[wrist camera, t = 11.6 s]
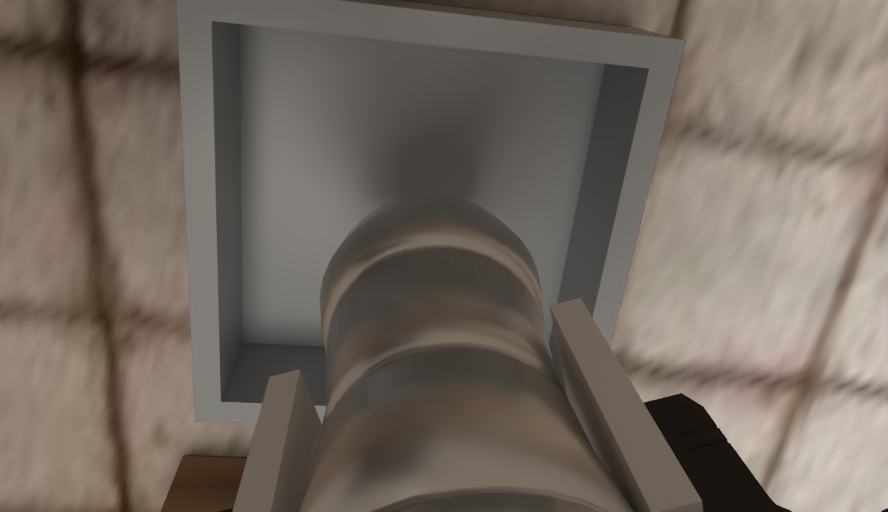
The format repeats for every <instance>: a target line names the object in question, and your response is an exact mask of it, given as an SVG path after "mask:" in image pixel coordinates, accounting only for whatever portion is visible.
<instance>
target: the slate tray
mask: <svg viewBox="0 0 888 512" xmlns="http://www.w3.org/2000/svg"><path fill="white" fill-rule="evenodd" d="M177 23H178V46H179V68H180V91H181V114H182V137H183V160H184V183H185V206H186V229H187V252H188V275H189V298H190V321H191V343H192V366H193V389H194V412H195V422H213V423H241V424H257V420H258V417H259V413H260V410H261V406H262V402H263V399H264V395H265V391H266V388H267V384H268V381H269V377H271V376H275V375H279V374H283V373H287V372H291V371H294V370H298V369H300V371H301V373H302V376H303V378H304V381H305V383H306V386H307V388H308V391H309V393H310V396H311V398H312V401H313V403H314V406H315V408H316V411H317V413H318V416H319V418H320V421H321V424H323V418H324V414H325V410H326V377H327V354H326V351H325V347H324V343H323V339H322V328H321V312H320V291H321V285H322V280H323V276H324V274H325V271H326V269H327V267H328V264H329V262H330V259H331V258H332V257H333V255H334V254H335V252H336V251H337V249H338V248H339V246H340V245H341V244H342V242H343V241H344V239H345V238H346V236H347V235H348V234H349V232H350V231H351V230H352V229H353V228H354V227H355V226H356V225H357V224H358V223H359V222H360V221H361V220H362V219H363V218H364V217H366V216H367V215H369V214H370V213H372V212H374V211H375V210H377V209H378V208H380V207H382V206H384V205H387V204H389V203H392V202H394V201H397V200H399V199H403V198H408V197H413V196H419V195H444V196H450V197H456V198H461V199H464V200H466V201H469V202H472V203H474V204H477V205H479V206H481V207H482V208H484V209H486V210H487V211H489V212H491V213H492V214H494V215H495V216H496V217H497V218H498V219H500V220H501V221H502V222H503V223H504V224H505V225H506V226H507V227H508V228H509V229H511V230H512V231H513V232H514V233H515V234H516V235H517V236H518V237H519V238H520V239H521V240H522V242H523V243H524V245H525V246H526V248H527V249H528V251H529V252H530V254H531V255H532V258H533V260H534V263H535V265H536V268H537V271H538V274H539V280H540V285H541V291H542V297H543V304H544V312H545V325H544V328H545V332H546V336H547V340H548V344H549V347H550V351H551V355H552V359H553V363H554V367H555V371H556V375H557V378H558V380H559V382H560V384H561V385H562V387H563V389H564V392H565V394H566V397H567V392H566V386H565V381H564V376H563V371H562V366H561V361H560V356H559V351H558V346H557V341H556V336H555V331H554V326H553V321H552V316H551V311H550V305H554V304H558V303H562V302H566V301H570V300H574V299H578V298H581V300H582V301H583V303H584V305H585V306H586V308H587V310H588V311H589V313H590V315H591V316H592V318H593V320H594V321H595V323H596V325H597V326H598V328H599V330H600V331H601V333H602V335H603V336H604V338H605V340H606V341H607V343H608V345H609V346H610V347H611V343H612V339H613V335H614V330H615V326H616V322H617V318H618V314H619V310H620V306H621V302H622V298H623V294H624V290H625V286H626V281H627V277H628V273H629V269H630V265H631V261H632V257H633V253H634V249H635V245H636V241H637V236H638V232H639V228H640V224H641V220H642V216H643V212H644V208H645V204H646V200H647V196H648V191H649V187H650V183H651V179H652V175H653V171H654V167H655V163H656V159H657V155H658V151H659V147H660V142H661V138H662V134H663V130H664V126H665V122H666V118H667V114H668V110H669V106H670V102H671V97H672V93H673V89H674V85H675V81H676V77H677V73H678V69H679V65H680V61H681V57H682V53H683V48H684V44H685V40H682V39H678V38H674V37H670V36H666V35H662V34H658V33H654V32H650V31H646V30H642V29H638V28H634V27H627V26H618V25H609V24H601V23H592V22H584V21H575V20H566V19H558V18H549V17H541V16H532V15H523V14H515V13H506V12H498V11H489V10H480V9H472V8H463V7H455V6H446V5H437V4H429V3H420V2H412V1H403V0H177ZM567 399H568V397H567ZM568 401H569V399H568ZM569 403H570V401H569Z"/></svg>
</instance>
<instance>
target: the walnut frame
mask: <svg viewBox="0 0 888 512" xmlns="http://www.w3.org/2000/svg"><path fill="white" fill-rule="evenodd" d="M246 460H247V458H241V457H206V456H183V457H182V460H181V462H180V465H179V467H178V470H177V472H176V475H175V477H174V480H173V482H172V485H171V487H170V490H169V492H168V495H167V497H166V500H165V502H164V505H163V507H162V510H161V512H217V511H221V510H225V509H229V508H233V507H234V504H235V500H236V497H237V493H238V490H239V486H240V482H241V479H242V475H243V471H244V468H245V464H246Z"/></svg>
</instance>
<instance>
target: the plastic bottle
mask: <svg viewBox="0 0 888 512" xmlns="http://www.w3.org/2000/svg"><path fill="white" fill-rule="evenodd" d="M320 312H321V328H322V339H323V343H324V347H325V351H326V354H327V377H326V410H325V414H324V418H323V424H322V429H321V433H320V436H319V440H318V445H317V449H316V453H315V458H314V462H313V467H312V471H311V475H310V480H309V484H308V488H307V491H306V493H305V496H304V499H303V502H302V504H301V507H300V510H299V512H635V511H634V510H633V508H632V507H631V505H630V504H629V502H628V501H627V499H626V498H625V496H624V495H623V493H622V492H621V490H620V489H619V487H618V486H617V484H616V483H615V481H614V480H613V478H612V477H611V475H610V474H609V472H608V471H607V469H606V468H605V466H604V465H603V463H602V462H601V460H600V459H599V457H598V456H597V454H596V453H595V451H594V450H593V447H592V445H591V443H590V441H589V439H588V437H587V435H586V433H585V431H584V429H583V427H582V425H581V423H580V421H579V419H578V417H577V415H576V413H575V411H574V409H573V407H572V405H571V404H570V403H569V401H568V399H567V397H566V394H565V392H564V389H563V387H562V385H561V384H560V382H559V380H558V378H557V375H556V371H555V367H554V363H553V359H552V355H551V351H550V347H549V344H548V340H547V336H546V332H545V328H544V325H545V312H544V304H543V297H542V291H541V285H540V280H539V274H538V271H537V268H536V265H535V263H534V260H533V258H532V255H531V254H530V252H529V251H528V249H527V248H526V246H525V245H524V243H523V242H522V240H521V239H520V238H519V237H518V236H517V235H516V234H515V233H514V232H513V231H512V230H511V229H509V228H508V227H507V226H506V225H505V224H504V223H503V222H502V221H501V220H500V219H498V218H497V217H496V216H495V215H494V214H492V213H491V212H489V211H487V210H486V209H484V208H482V207H481V206H479V205H477V204H474V203H472V202H469V201H466V200H464V199H461V198H456V197H450V196H444V195H419V196H413V197H408V198H403V199H399V200H397V201H394V202H392V203H389V204H387V205H384V206H382V207H380V208H378V209H377V210H375V211H374V212H372V213H370V214H369V215H367V216H366V217H364V218H363V219H362V220H361V221H360V222H359V223H358V224H357V225H356V226H355V227H354V228H353V229H352V230H351V231H350V232H349V234H348V235H347V236H346V238H345V239H344V241H343V242H342V244H341V245H340V246H339V248H338V249H337V251H336V252H335V254H334V255H333V257H332V258H331V259H330V262H329V264H328V267H327V269H326V271H325V274H324V276H323V280H322V285H321V291H320Z"/></svg>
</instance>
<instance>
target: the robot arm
mask: <svg viewBox="0 0 888 512" xmlns="http://www.w3.org/2000/svg"><path fill="white" fill-rule="evenodd" d="M550 311H551V316H552V321H553V326H554V331H555V336H556V341H557V346H558V351H559V356H560V361H561V366H562V371H563V376H564V381H565V386H566V392H567V397H568V399H569V401H570V404H571V405H572V407H573V409H574V411H575V413H576V415H577V417H578V419H579V421H580V423H581V425H582V427H583V429H584V431H585V433H586V435H587V437H588V439H589V441H590V443H591V445H592V447H593V450H594V451H595V453H596V454H597V456H598V457H599V459H600V460H601V462H602V463H603V465H604V466H605V468H606V469H607V471H608V472H609V474H610V475H611V477H612V478H613V480H614V481H615V483H616V484H617V486H618V487H619V489H620V490H621V492H622V493H623V495H624V496H625V498H626V499H627V501H628V502H629V504H630V505H631V507H632V508H633V510H634V511H635V512H792V511H790V510H788V509H785V508H783V507H781V506H778V505H776V504H775V503H774V502H773V501H772V500H771V499H770V498H769V496H768V495H767V493H766V492H765V491H764V489H763V488H762V487H761V485H760V484H759V483H758V481H757V480H756V478H755V477H754V476H753V474H752V473H751V472H750V470H749V469H748V467H747V466H746V465H745V463H744V462H743V461H742V459H741V458H740V457H739V455H738V454H737V452H736V451H735V450H734V448H733V447H732V446H731V444H730V443H728V441H727V439H726V437H725V436H724V435H723V433H722V432H721V430H720V429H719V428H717V426H716V424H715V422H714V421H713V420H712V418H711V417H710V415H709V414H708V413H707V411H706V410H705V409H704V407H703V406H701V405H700V404H698V403H696V402H695V401H693V400H691V399H690V398H688V397H687V396H685V395H683V394H682V393H681V394H677V395H673V396H669V397H665V398H661V399H657V400H653V401H649V402H645V403H643V401H642V400H641V398H640V396H639V395H638V393H637V391H636V390H635V388H634V386H633V385H632V383H631V381H630V380H629V378H628V376H627V375H626V373H625V371H624V370H623V368H622V366H621V365H620V363H619V361H618V360H617V358H616V356H615V355H614V353H613V351H612V350H611V348H610V346H609V345H608V343H607V341H606V340H605V338H604V336H603V335H602V333H601V331H600V330H599V328H598V326H597V325H596V323H595V321H594V320H593V318H592V316H591V315H590V313H589V311H588V310H587V308H586V306H585V305H584V303H583V301H582V300H581V298H578V299H574V300H570V301H566V302H562V303H558V304H554V305H550ZM321 429H322V424H321V421H320V418H319V416H318V413H317V411H316V408H315V406H314V403H313V401H312V398H311V396H310V393H309V391H308V388H307V386H306V383H305V381H304V378H303V376H302V373H301V371H300V369H298V370H294V371H291V372H287V373H283V374H279V375H275V376H271V377H269V381H268V384H267V388H266V391H265V395H264V399H263V402H262V406H261V410H260V413H259V417H258V420H257V424H256V428H255V431H254V435H253V439H252V442H251V446H250V450H249V453H248V457H247V460H246V464H245V468H244V471H243V475H242V479H241V482H240V486H239V490H238V493H237V497H236V500H235V504H234V507H233V508H229V509H225V510H221V511H217V512H299V510H300V507H301V504H302V502H303V499H304V496H305V493H306V491H307V488H308V484H309V480H310V475H311V471H312V467H313V462H314V458H315V453H316V449H317V445H318V440H319V436H320V433H321ZM882 512H888V509H885V510H883V511H882Z"/></svg>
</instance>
